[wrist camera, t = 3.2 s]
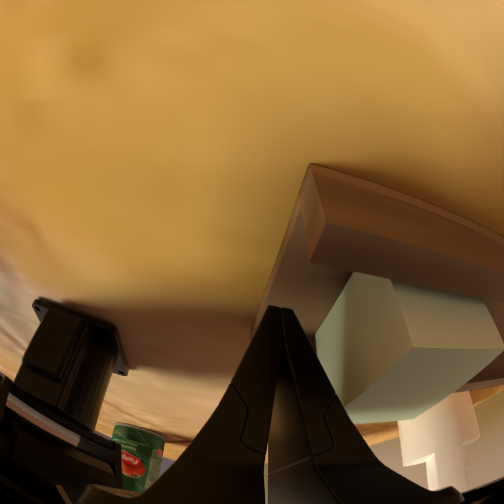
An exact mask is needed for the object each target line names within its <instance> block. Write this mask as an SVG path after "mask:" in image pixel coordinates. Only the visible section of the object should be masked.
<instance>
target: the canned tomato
mask: <svg viewBox="0 0 504 504" xmlns="http://www.w3.org/2000/svg"><path fill="white" fill-rule="evenodd" d="M111 440H112V441H115V442H118V443H120V444H121V449H122V481H123V490H128V491H134V492H138V493H144V492H145V491H146V490H147V489H148V488H149V487H150V486H151V485H152V484H153V483H154V482H155V481H156V480H157V479H158V477H159V471H160V466H161V461H162V456H163V451H164V444H165V441H166V439H165V438H164V437H163V436H161V435H159V434H157V433H155V432H153V431H150V430H147V429H144V428H141V427H138V426H134V425H130V424H125V423H116V424H115V428H114V431H113V434H112V439H111Z"/></svg>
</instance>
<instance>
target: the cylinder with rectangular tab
mask: <svg viewBox="0 0 504 504" xmlns="http://www.w3.org/2000/svg"><path fill="white" fill-rule="evenodd" d="M397 422H398V429H399V436H400V442H401V451H402V460H403V466H410V465H415V464H419V463H423V462H426V468H427V478H428V488H429V490H431V491H434V490H437V489H441V488H444V487H447V486H453V487H454V488H456V489H457V490H458V491H459V492H460V493H461V492H464V491H467V490H469V480H468V472H467V464H466V457H465V451H464V447H465V446H467V445H469V444H470V443H472V442H474V441H476V440H477V439H478V438H480V433H479V429H478V424H477V420H476V416H475V411H474V407H473V404H472V400H471V396H470V393H469V391H464V392H457V393H452V394H450V395H449V396H448V397H446V398H445V399H443V400H442V401H441V402H439V403H438V404H436V405H435V406H433V407H432V408H430V409H429V410H427V411H425V412H424V413H422V414H421V415H419V416H418V417H416V418H414V419H410V420H401V421H397Z"/></svg>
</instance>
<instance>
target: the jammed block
mask: <svg viewBox="0 0 504 504" xmlns="http://www.w3.org/2000/svg"><path fill="white" fill-rule="evenodd" d="M315 338H316V350H317V357H318V359H319V361H320V363H321V364H322V366H323V368H324V370H325V372H326V374H327V376H328V378H329V380H330V382H331V384H332V386H333V388H334V390H335V392H336V393H335V394H337V395H338V397H339V399H340V401H341V403H342V405H343V407H344V409H345V410H346V412H347V414H348V416H349V417H350V419H351V420H352V422H353V424H360V423H378V422H390V421H401V420H410V419H414V418H416V417H418V416H419V415H421V414H422V413H424V412H425V411H427V410H429V409H430V408H432V407H433V406H435V405H436V404H438V403H439V402H441V401H442V400H443V399H445V398H446V397H448V396H449V395H450V394H452V393H453V392H455V391H456V390H457V389H459V388H460V387H461V386H463V385H464V384H465V383H466V382H468V381H469V380H470V379H471V378H473V377H474V376H475V375H476V374H478V373H479V372H480V371H481V370H482V369H484V368H485V367H486V366H487V365H488V364H489V363H490V362H492V361H493V360H494V359H495V358H496V357H497V356H498V355H499V354H500V353H501V352H503V351H504V343H503V340H502V338H501V336H500V334H499V332H498V329H497V327H496V325H495V323H494V321H493V319H492V317H491V315H490V313H489V311H488V309H487V307H486V305H485V303H484V301H483V299H482V298H479V297H474V296H469V295H464V294H459V293H455V292H450V291H445V290H440V289H435V288H430V287H426V286H421V285H416V284H411V283H406V282H402V281H397V280H392V279H387V278H382V277H377V276H373V275H368V274H363V273H358V272H353V274H352V275H351V277H350V279H349V281H348V282H347V284H346V286H345V287H344V289H343V291H342V292H341V294H340V296H339V297H338V299H337V301H336V302H335V304H334V306H333V307H332V309H331V310H330V312H329V314H328V315H327V317H326V318H325V320H324V321H323V323H322V325H321V326H320V328H319V329H318V331H317V332H316V334H315Z"/></svg>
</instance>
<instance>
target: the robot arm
mask: <svg viewBox="0 0 504 504" xmlns="http://www.w3.org/2000/svg"><path fill="white" fill-rule="evenodd" d="M32 307H33V309H34V311H35V313H36V315H37V317H38V319H39V321H40V322H41V323H40V324H39V326H38V328H37V330H36V332H35V334H34V336H33V337H32V339H31V341H30V343H29V345H28V347H27V349H26V351H25V353H24V355H23V357H22V364H21V366H20V368H19V371H18V373H17V375H16V377H15V380H14V382H13V381H12V380H11V379H9V378H8V377H7V376H5V375H3V376H1V375H0V504H265V488H264V463H265V455H266V451H267V444H268V504H504V477H501V478H499V479H497V480H494V481H492V482H490V483H487V484H484V485H482V486H479V487H476V488H473V489H470V490H467V491H464V492H461V493H460V492H459V491H458V490H457V489H456V488H454V487H453V486H447V487H444V488H441V489H437V490H434V491H431V490H427V489H425V488H423V487H421V486H419V485H417V484H416V483H414V482H412V481H410V480H408V479H407V478H405V477H403V476H402V475H400V474H398V473H396V472H395V471H393V470H391V469H390V468H388V467H387V466H385V465H384V464H383V463H382V462H381V461H379V460H378V458H377V457H376V456H375V455H374V453H373V452H372V451H371V449H370V448H369V446H368V445H367V443H366V442H365V440H364V439H363V437H362V436H361V434H360V433H359V431H358V430H357V428H356V427H355V425H354V424H353V422H352V420H351V419H350V417H349V416H348V414H347V412H346V410H345V409H344V407H343V405H342V403H341V401H340V399H339V397H338V395H337V394H335V393H336V392H335V390H334V388H333V386H332V384H331V382H330V380H329V378H328V376H327V374H326V372H325V370H324V368H323V366H322V364H321V363H320V361H319V359H318V357H317V355H316V353H315V351H314V349H313V347H312V345H311V343H310V341H309V340H308V338H307V336H306V334H305V332H304V330H303V328H302V326H301V324H300V322H299V320H298V319H297V317H296V315H295V313H294V311H293V310H292V309H291V308H285V307H281V308H280V307H278V306H273V305H268V306H267V308H266V310H265V312H264V314H263V316H262V319H261V321H260V323H259V325H258V327H257V329H256V331H255V333H254V335H253V338H252V340H251V342H250V344H249V346H248V348H247V350H246V352H245V354H244V356H243V358H242V360H241V362H240V364H239V366H238V368H237V370H236V372H235V374H234V376H233V378H232V380H231V383H230V384H229V386H228V388H227V390H226V392H225V394H224V396H223V397H222V399H221V401H220V403H219V405H218V406H217V408H216V409H215V411H214V412H213V414H212V415H211V417H210V418H209V419H208V421H207V422H206V423H205V425H204V426H203V427H202V429H201V430H200V431H199V433H198V434H197V435H196V437H195V438H194V439H193V440H192V442H191V443H190V444H189V446H188V447H187V448H186V449H185V451H184V452H183V453H182V454H181V455H180V457H179V458H178V459H177V460H176V461H175V462H174V463H173V464H172V465H171V466H170V467H169V468H168V469H167V470H166V471H165V472H164V473H163V474H162V475H161V476H160V477H159V478H158V479H157V480H156V481H155V482H154V483H153V484H152V485H151V486H150V487H149V488H148V489H147V490H146V491H145V492H144V493H138V492H134V491H128V490H123V481H122V449H121V444H120V443H118V442H115V441H112V440H108V439H106V438H104V437H102V436H99V435H97V434H95V433H94V430H95V426H96V423H97V419H98V416H99V413H100V409H101V406H102V403H103V400H104V397H105V393H106V390H107V387H108V384H109V381H110V378H111V375H112V373H116V374H119V375H122V376H127V375H128V371H129V370H128V366H127V363H126V360H125V357H124V354H123V350H122V347H121V343H120V340H119V336H118V333H117V330H116V328H115V327H114V326H113V325H111V324H109V323H106V322H102V321H99V320H96V319H93V318H89V317H86V316H83V315H80V314H77V313H74V312H71V311H68V310H65V309H62V308H60V307H57V306H54V305H51V304H49V303H46V302H43V301H41V300H38V299H35V300H34V302H33V304H32ZM12 382H13V383H12ZM7 399H8V400H10V401H11V402H13V403H14V404H16V405H17V406H18V407H20V408H21V409H23V410H24V411H26V412H28V413H29V414H31V415H32V416H34V417H35V418H37V419H39V420H41V421H42V422H44V423H45V424H47V425H49V426H51V427H52V428H54V429H56V430H58V431H60V432H61V433H63V434H66V435H67V436H69V437H71V438H73V439H75V440H77V441H79V444H78V446H75V445H73V444H71V443H69V442H67V441H65V440H63V439H61V438H59V437H57V436H55V435H54V434H52V433H50V432H48V431H46V430H45V429H43V428H41V427H40V426H38V425H36V424H34V423H33V422H31V421H30V420H28V419H26V418H25V417H23V416H22V415H20V414H19V413H17V412H16V411H14V410H13V409H11V408H10V407H8V406H7V405H6V402H7Z"/></svg>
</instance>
